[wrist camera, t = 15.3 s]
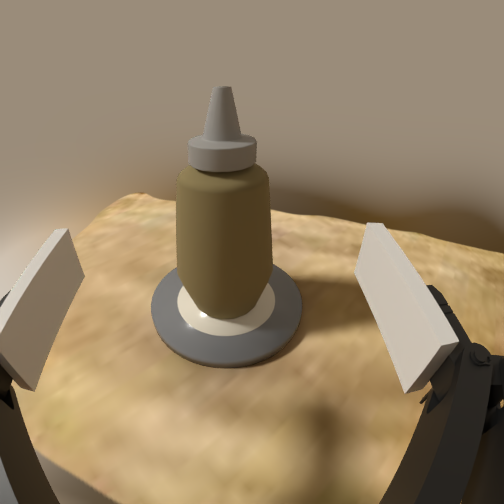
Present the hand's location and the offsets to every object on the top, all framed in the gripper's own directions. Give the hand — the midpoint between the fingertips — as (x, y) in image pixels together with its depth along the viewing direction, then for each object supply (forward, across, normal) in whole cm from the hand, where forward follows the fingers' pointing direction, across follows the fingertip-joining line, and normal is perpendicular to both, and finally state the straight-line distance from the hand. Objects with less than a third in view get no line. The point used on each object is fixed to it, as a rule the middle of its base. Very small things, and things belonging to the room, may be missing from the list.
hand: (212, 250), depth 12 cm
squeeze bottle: (+10, 0, -12) cm, 16 cm away
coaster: (+10, 0, -13) cm, 16 cm away
